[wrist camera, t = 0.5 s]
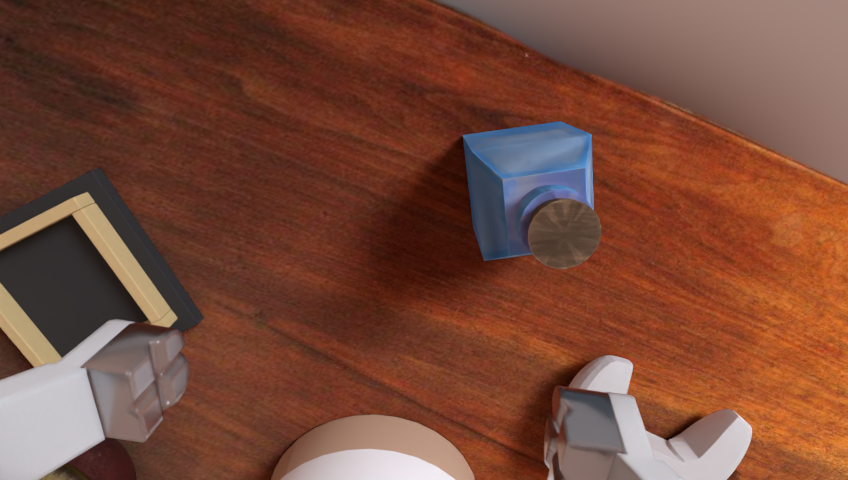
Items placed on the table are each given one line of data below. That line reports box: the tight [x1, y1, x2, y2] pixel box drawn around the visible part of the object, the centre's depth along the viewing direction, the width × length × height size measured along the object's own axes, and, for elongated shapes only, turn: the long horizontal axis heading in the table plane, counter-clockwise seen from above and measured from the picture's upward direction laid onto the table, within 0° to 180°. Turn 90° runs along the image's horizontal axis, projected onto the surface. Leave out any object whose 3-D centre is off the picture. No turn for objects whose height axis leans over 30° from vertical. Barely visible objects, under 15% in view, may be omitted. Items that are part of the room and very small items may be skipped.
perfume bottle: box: [463, 121, 601, 269], centre depth 28 cm, size 6×6×12 cm
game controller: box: [568, 355, 752, 480], centre depth 38 cm, size 14×4×10 cm
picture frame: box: [0, 168, 204, 368], centre depth 34 cm, size 12×12×2 cm
